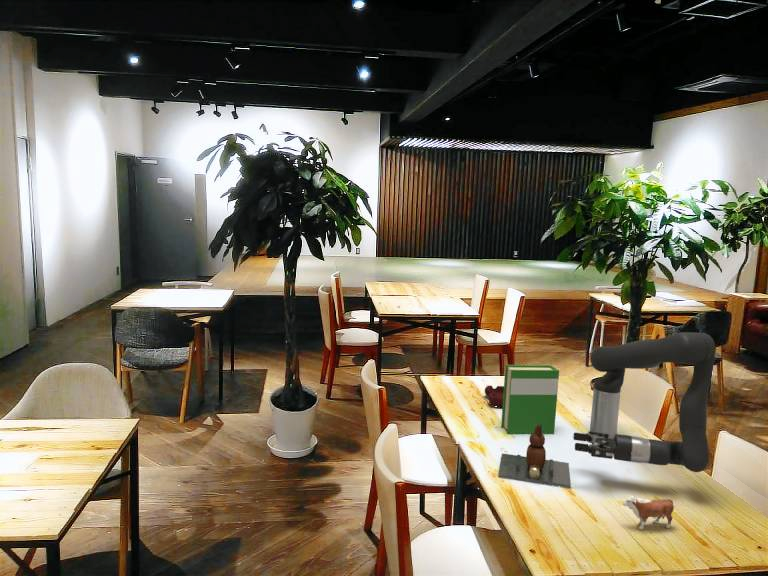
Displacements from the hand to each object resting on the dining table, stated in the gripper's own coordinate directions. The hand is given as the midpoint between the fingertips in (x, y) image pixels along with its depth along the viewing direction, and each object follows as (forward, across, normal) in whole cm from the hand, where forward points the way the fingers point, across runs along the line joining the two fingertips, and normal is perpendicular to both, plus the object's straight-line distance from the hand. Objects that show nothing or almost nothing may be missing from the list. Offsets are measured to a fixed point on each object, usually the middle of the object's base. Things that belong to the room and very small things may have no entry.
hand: (574, 441), depth 175 cm
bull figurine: (-18, +23, +12) cm, 31 cm away
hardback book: (+14, -35, +12) cm, 40 cm away
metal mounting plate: (+11, 0, +12) cm, 16 cm away
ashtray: (+24, -65, +12) cm, 70 cm away
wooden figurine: (+11, 0, +11) cm, 15 cm away
